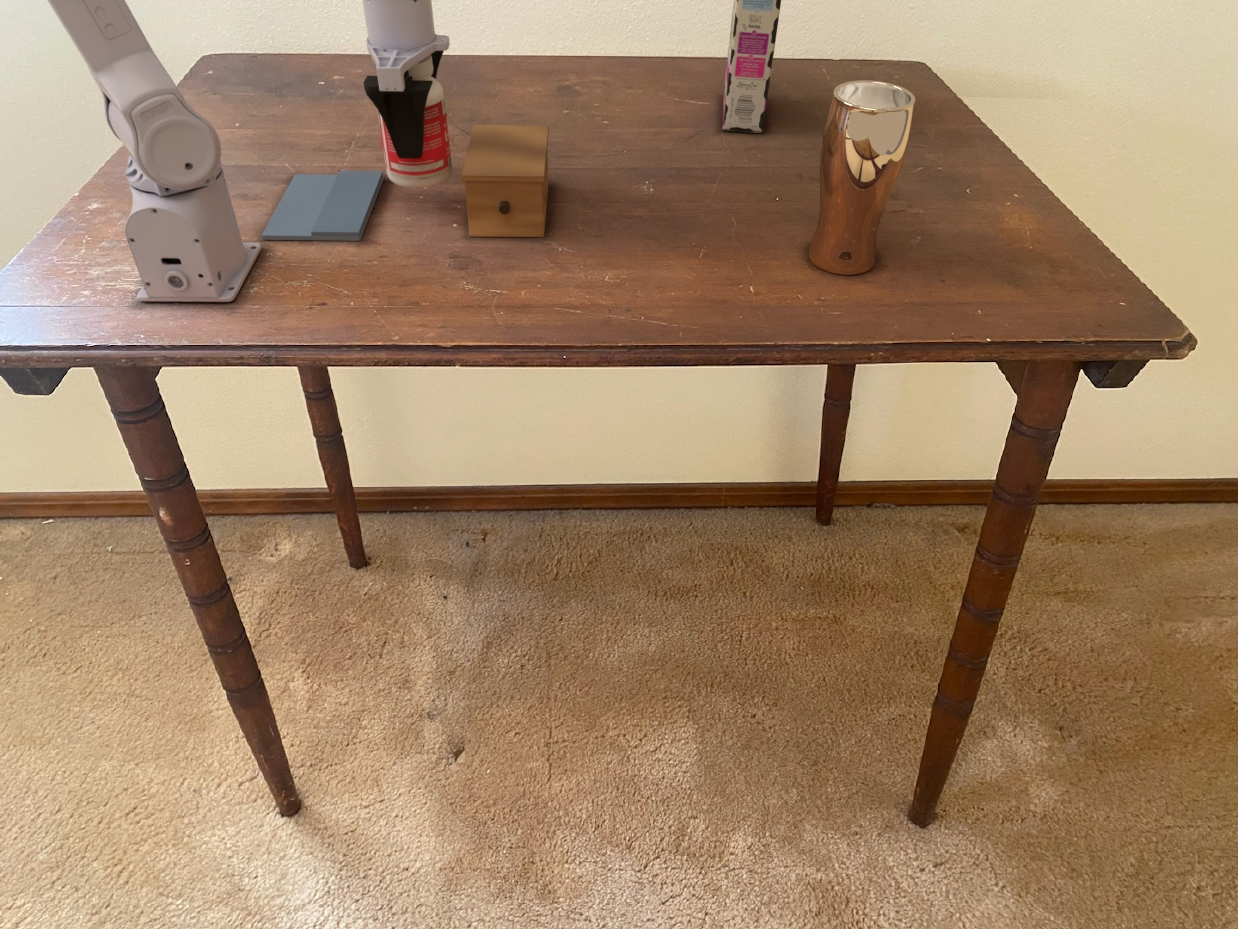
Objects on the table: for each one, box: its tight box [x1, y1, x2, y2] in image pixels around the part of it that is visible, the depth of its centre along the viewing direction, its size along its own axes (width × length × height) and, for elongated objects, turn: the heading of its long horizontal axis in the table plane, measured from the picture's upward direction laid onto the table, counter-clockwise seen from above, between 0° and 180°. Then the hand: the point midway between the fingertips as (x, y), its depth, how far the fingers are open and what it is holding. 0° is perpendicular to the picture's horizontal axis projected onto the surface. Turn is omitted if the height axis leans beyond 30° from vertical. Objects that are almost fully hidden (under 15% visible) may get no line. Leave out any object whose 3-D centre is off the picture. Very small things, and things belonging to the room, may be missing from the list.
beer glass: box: [807, 79, 916, 276], centre depth 81 cm, size 7×7×15 cm
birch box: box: [460, 124, 550, 238], centre depth 89 cm, size 12×7×6 cm, turn 1°
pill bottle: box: [376, 55, 453, 189], centre depth 85 cm, size 6×6×11 cm
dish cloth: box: [261, 170, 385, 242], centre depth 91 cm, size 13×9×1 cm
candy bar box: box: [722, 0, 782, 134], centre depth 105 cm, size 11×5×16 cm, turn 175°
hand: (415, 141), depth 87 cm, fingers closed on pill bottle, 6 cm apart
